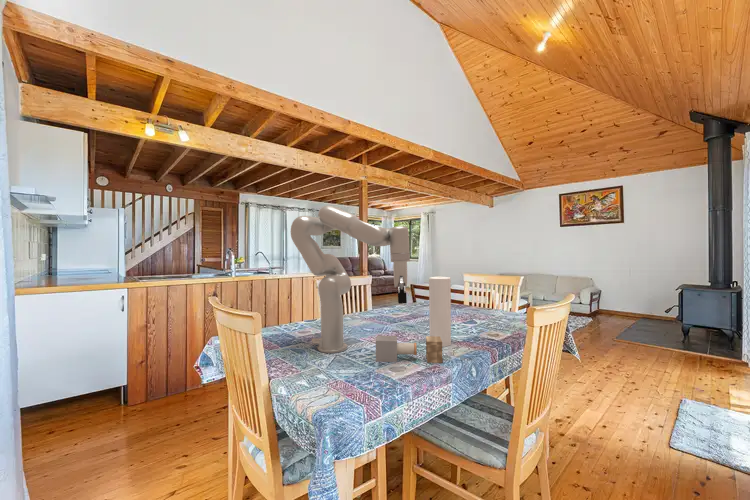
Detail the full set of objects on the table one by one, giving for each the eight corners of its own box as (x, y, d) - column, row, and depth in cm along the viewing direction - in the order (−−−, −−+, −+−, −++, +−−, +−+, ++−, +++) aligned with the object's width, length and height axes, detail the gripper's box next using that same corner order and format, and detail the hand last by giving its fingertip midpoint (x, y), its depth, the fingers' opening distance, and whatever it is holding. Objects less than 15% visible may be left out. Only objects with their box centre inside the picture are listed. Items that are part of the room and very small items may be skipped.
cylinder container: (449, 340, 150) (449, 275, 150) (452, 346, 141) (451, 277, 140) (428, 340, 151) (428, 275, 150) (430, 346, 142) (429, 277, 141)
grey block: (375, 361, 124) (375, 340, 124) (377, 355, 131) (377, 335, 131) (396, 362, 123) (396, 341, 123) (397, 355, 130) (397, 335, 130)
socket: (427, 362, 122) (427, 341, 122) (426, 356, 129) (426, 336, 129) (442, 362, 122) (442, 341, 121) (440, 356, 128) (440, 336, 128)
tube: (377, 356, 125) (377, 344, 125) (378, 352, 129) (378, 340, 129) (416, 356, 124) (416, 344, 123) (416, 352, 128) (416, 341, 128)
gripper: (391, 257, 137) (393, 298, 137) (390, 259, 119) (392, 305, 119) (408, 256, 136) (410, 297, 136) (410, 258, 119) (412, 304, 119)
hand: (402, 301), depth 128 cm, fingers open, 9 cm apart
